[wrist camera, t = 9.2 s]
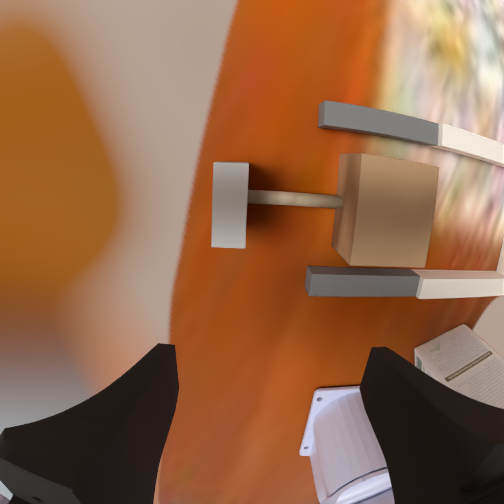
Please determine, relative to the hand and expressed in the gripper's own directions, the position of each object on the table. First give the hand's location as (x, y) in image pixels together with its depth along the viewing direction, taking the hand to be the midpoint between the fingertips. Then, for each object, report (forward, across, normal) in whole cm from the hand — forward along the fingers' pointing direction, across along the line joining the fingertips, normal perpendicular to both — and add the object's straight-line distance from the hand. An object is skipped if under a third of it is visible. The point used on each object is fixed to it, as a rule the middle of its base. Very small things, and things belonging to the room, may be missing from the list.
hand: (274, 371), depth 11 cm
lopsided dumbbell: (+10, -3, -5) cm, 12 cm away
